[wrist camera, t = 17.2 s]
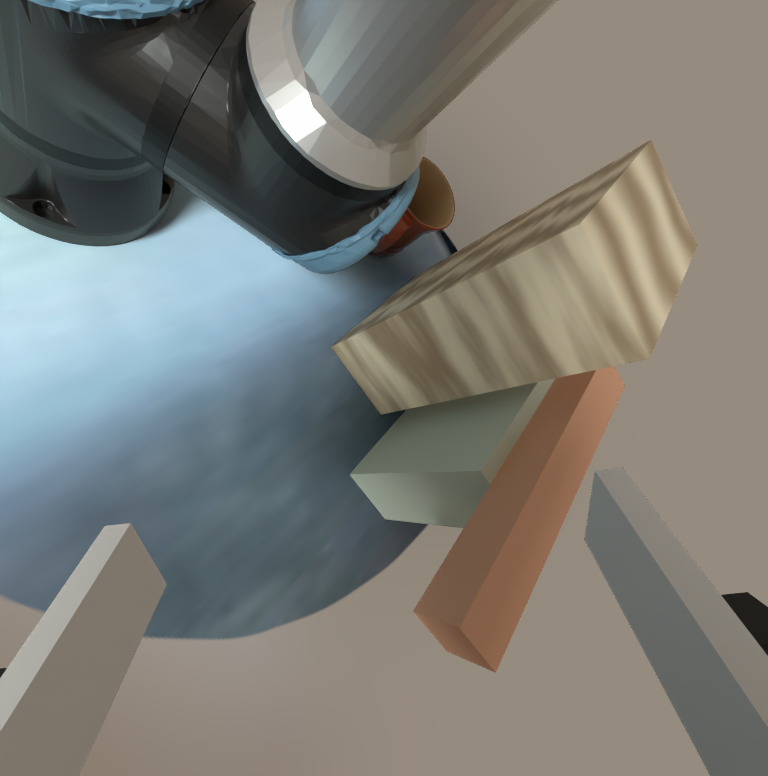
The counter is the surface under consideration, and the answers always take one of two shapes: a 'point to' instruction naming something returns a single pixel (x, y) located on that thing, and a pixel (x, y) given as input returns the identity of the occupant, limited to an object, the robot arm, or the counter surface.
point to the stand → (534, 295)
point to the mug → (421, 211)
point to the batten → (518, 521)
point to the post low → (446, 455)
